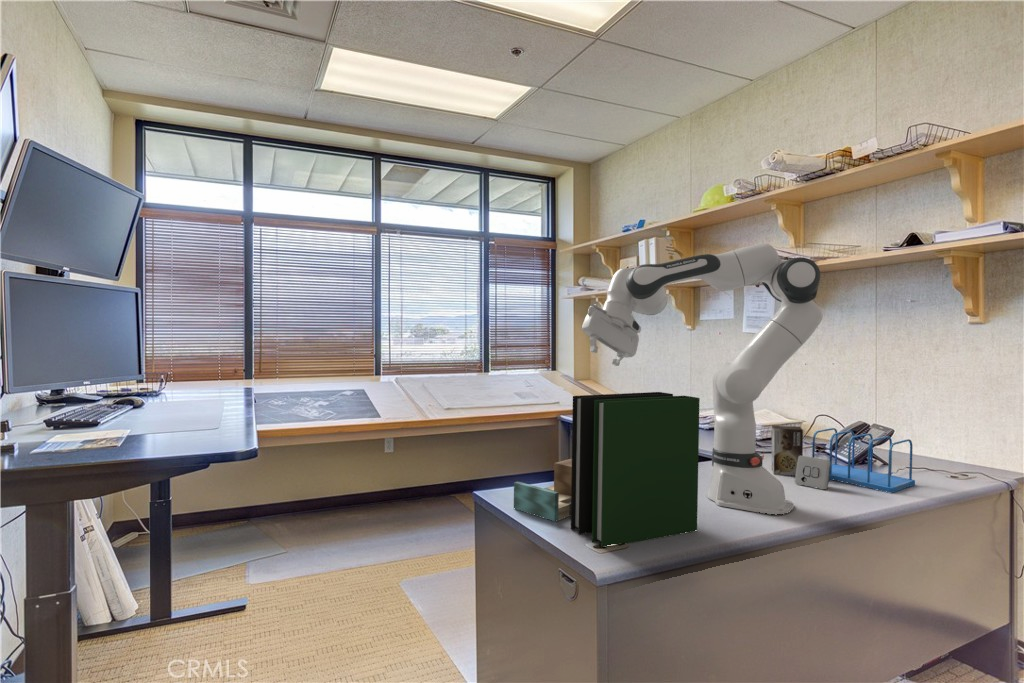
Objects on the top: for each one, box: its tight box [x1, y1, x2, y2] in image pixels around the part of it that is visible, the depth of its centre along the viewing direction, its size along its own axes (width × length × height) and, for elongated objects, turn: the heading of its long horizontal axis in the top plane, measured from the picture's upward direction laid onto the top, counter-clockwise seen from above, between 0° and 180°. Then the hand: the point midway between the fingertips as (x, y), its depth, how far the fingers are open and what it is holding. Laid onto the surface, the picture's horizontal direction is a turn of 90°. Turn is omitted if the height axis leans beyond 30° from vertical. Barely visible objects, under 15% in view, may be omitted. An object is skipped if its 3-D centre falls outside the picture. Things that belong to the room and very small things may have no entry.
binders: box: [570, 391, 701, 548], centre depth 130 cm, size 27×15×32 cm, turn 116°
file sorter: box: [811, 427, 916, 493], centre depth 180 cm, size 25×17×15 cm
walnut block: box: [553, 458, 572, 496], centre depth 151 cm, size 6×8×8 cm
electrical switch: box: [794, 455, 831, 490], centre depth 172 cm, size 9×5×9 cm, turn 41°
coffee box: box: [770, 424, 804, 477], centre depth 187 cm, size 9×6×16 cm
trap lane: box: [513, 481, 571, 522], centre depth 147 cm, size 14×20×7 cm
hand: (604, 358), depth 161 cm, fingers open, 8 cm apart
